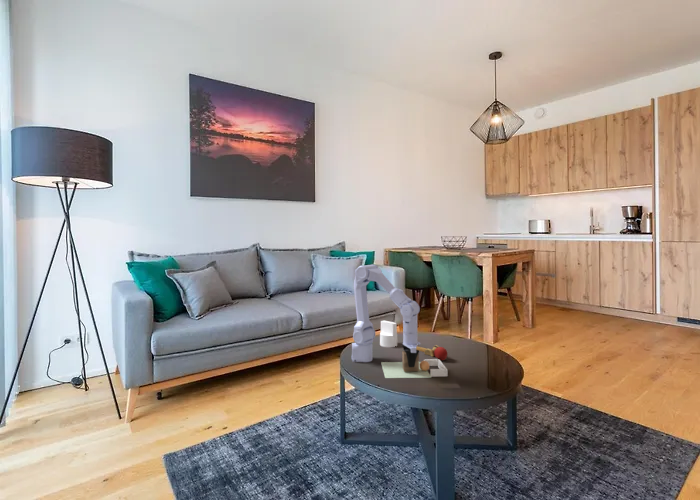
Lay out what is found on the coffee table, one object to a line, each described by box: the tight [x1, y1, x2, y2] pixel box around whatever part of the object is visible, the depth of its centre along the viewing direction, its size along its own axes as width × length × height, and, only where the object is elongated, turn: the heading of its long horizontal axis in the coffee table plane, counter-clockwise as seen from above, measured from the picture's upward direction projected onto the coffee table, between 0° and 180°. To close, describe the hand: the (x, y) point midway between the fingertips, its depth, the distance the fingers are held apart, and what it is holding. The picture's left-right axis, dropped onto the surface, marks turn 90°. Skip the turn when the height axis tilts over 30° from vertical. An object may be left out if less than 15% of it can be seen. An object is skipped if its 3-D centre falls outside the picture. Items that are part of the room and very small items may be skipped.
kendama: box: [416, 344, 448, 362], centre depth 159 cm, size 8×6×18 cm
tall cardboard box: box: [401, 350, 420, 372], centre depth 138 cm, size 6×4×7 cm, turn 90°
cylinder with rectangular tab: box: [379, 320, 398, 348], centre depth 178 cm, size 9×9×12 cm
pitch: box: [380, 358, 449, 379], centre depth 139 cm, size 24×17×4 cm
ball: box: [419, 360, 430, 371], centre depth 138 cm, size 4×4×4 cm
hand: (410, 364), depth 138 cm, fingers closed on tall cardboard box, 4 cm apart
